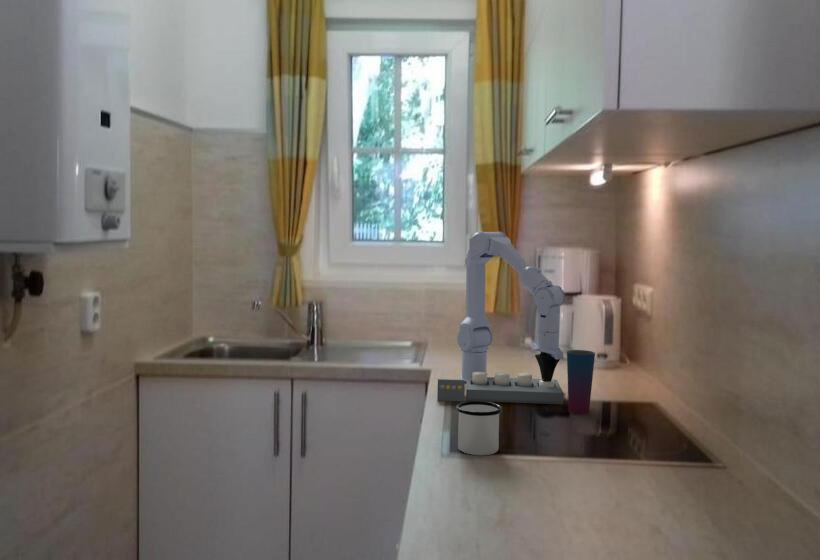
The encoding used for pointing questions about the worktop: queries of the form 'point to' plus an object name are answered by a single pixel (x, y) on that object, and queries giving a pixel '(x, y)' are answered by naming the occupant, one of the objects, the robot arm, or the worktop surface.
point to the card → (451, 389)
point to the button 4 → (546, 384)
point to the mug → (478, 427)
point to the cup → (579, 380)
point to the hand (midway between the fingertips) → (546, 381)
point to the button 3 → (524, 379)
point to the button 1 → (479, 378)
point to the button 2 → (502, 379)
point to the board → (514, 392)
